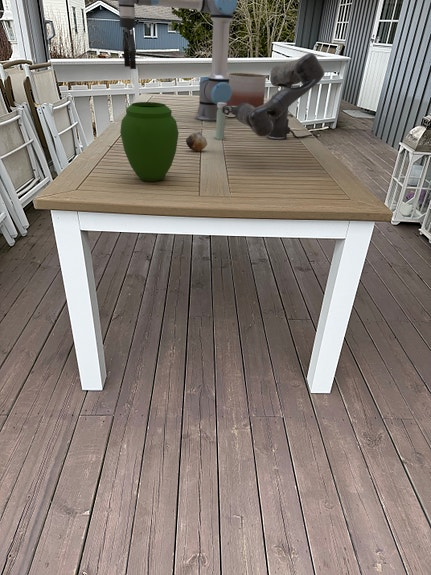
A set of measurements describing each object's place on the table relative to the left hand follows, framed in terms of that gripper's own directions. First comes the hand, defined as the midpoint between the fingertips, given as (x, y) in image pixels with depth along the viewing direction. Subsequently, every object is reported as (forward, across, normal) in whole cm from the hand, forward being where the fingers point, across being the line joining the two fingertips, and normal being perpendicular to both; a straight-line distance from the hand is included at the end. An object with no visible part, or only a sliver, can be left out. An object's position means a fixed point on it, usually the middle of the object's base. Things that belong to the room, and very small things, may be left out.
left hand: (130, 67), depth 208 cm
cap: (+12, +38, +36) cm, 53 cm away
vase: (+28, +92, -14) cm, 98 cm away
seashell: (+28, +59, +15) cm, 67 cm away
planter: (+28, -37, +85) cm, 97 cm away
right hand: (+10, +59, +33) cm, 68 cm away
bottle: (+28, +38, +36) cm, 59 cm away
